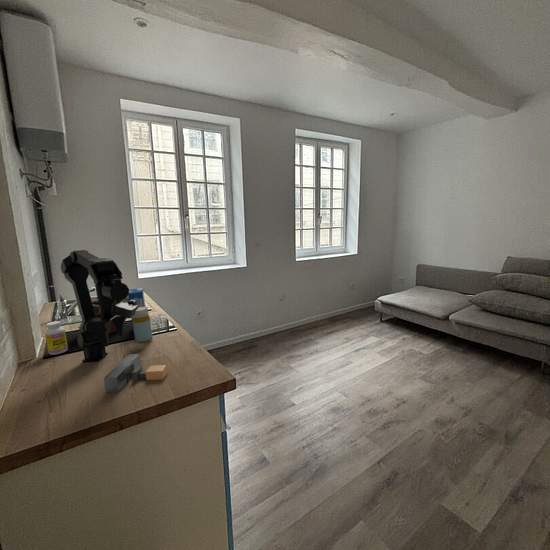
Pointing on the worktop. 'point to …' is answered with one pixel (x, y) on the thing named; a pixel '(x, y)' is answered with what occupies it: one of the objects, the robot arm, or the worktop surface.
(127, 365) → the housing
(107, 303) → the robot arm
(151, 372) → the plug
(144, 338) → the bottle
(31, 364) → the worktop surface
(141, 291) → the milk carton
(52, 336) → the supplement bottle
